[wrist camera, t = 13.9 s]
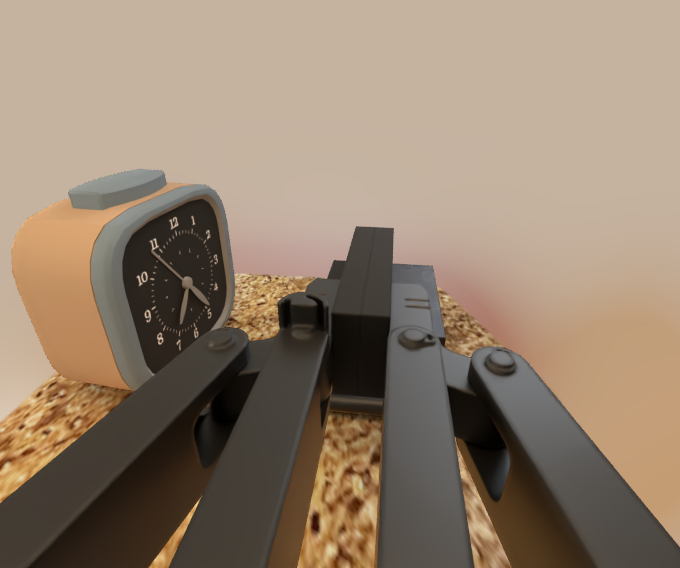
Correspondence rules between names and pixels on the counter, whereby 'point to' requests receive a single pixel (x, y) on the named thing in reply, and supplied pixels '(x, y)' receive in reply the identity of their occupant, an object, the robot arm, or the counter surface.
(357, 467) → the counter surface
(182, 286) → the alarm clock
